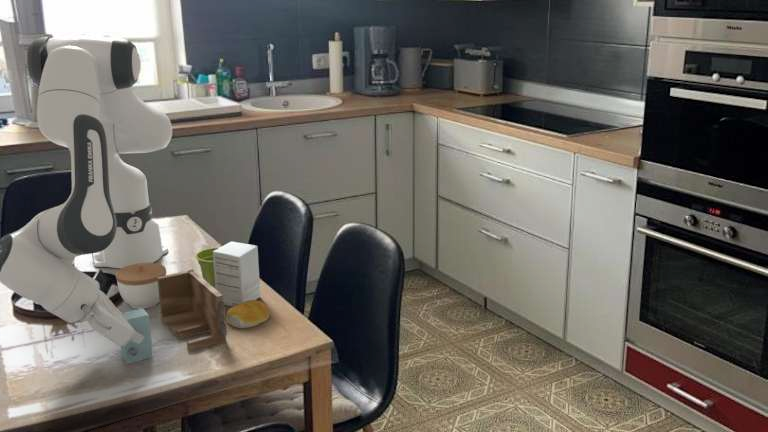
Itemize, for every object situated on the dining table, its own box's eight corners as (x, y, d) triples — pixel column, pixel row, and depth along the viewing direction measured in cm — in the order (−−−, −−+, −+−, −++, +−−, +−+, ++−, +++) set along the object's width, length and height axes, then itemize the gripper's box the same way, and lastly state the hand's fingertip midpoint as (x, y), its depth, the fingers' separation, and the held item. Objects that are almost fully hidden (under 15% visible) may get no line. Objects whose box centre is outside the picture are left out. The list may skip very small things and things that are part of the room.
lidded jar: (154, 289, 181) (150, 252, 178) (178, 303, 174) (174, 264, 171) (110, 303, 174) (106, 264, 171) (134, 317, 167) (129, 277, 164)
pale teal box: (121, 356, 150) (116, 314, 147) (147, 349, 153) (142, 308, 150) (128, 366, 146) (123, 323, 144) (154, 359, 149) (150, 316, 146)
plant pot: (230, 278, 187) (227, 244, 185) (245, 290, 180) (243, 255, 177) (192, 286, 183) (189, 252, 180) (207, 299, 175) (204, 264, 172)
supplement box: (234, 291, 180) (231, 240, 175) (261, 297, 177) (258, 245, 173) (215, 303, 173) (211, 250, 169) (242, 309, 170) (239, 256, 166)
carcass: (161, 320, 165) (157, 277, 162) (196, 311, 169) (192, 269, 166) (191, 353, 151) (187, 306, 148) (228, 342, 155) (225, 297, 152)
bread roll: (276, 317, 167) (275, 300, 166) (246, 332, 160) (245, 315, 159) (249, 308, 172) (248, 291, 170) (219, 322, 165) (217, 305, 164)
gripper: (102, 303, 133) (163, 339, 141) (73, 266, 149) (129, 300, 157) (78, 333, 132) (141, 368, 140) (52, 292, 148) (110, 326, 156)
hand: (135, 332), depth 149 cm, fingers open, 6 cm apart
